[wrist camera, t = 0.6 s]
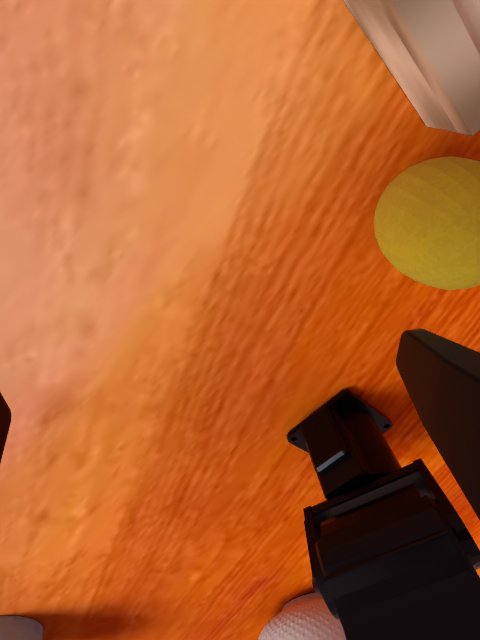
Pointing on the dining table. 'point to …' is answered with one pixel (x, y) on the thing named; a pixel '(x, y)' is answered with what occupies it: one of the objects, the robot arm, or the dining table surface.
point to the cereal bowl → (304, 621)
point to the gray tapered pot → (20, 628)
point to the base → (430, 55)
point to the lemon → (433, 222)
